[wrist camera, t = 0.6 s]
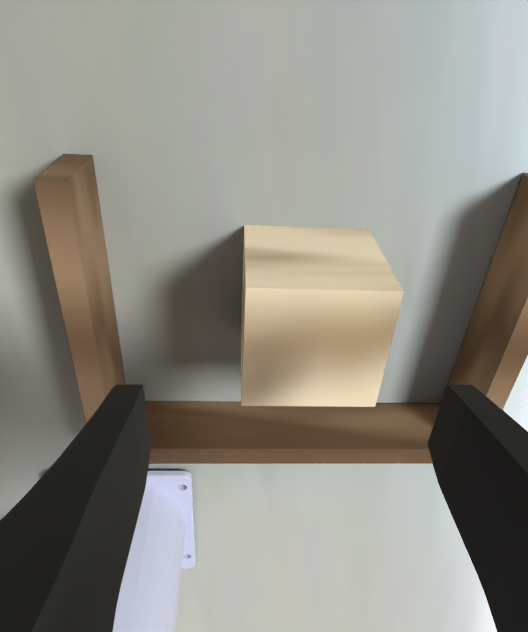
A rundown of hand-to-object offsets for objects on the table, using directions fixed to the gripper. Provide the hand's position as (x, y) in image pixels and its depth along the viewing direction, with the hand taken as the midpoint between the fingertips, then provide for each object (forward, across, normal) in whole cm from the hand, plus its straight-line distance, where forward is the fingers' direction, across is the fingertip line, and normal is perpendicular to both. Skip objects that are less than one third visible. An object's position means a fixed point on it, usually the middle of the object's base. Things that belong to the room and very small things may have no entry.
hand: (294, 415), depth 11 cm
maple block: (+10, -1, +2) cm, 10 cm away
